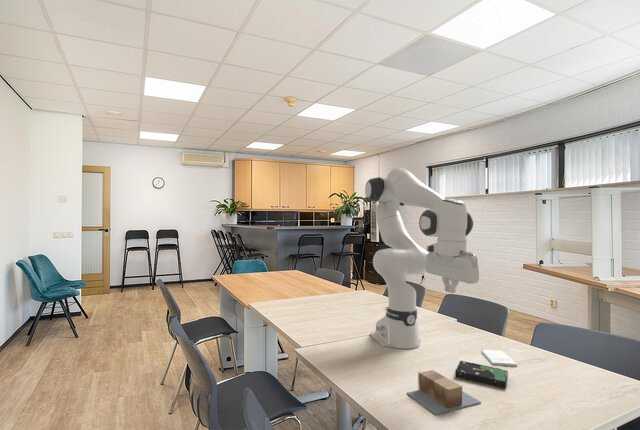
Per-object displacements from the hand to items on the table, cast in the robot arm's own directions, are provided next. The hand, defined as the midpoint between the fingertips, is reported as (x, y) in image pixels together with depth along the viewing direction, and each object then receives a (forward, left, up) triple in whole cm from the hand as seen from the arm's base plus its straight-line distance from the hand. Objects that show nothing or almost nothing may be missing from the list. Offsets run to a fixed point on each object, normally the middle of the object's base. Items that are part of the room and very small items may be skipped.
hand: (449, 292), depth 115 cm
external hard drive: (-6, +29, -28) cm, 41 cm away
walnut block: (+3, -12, -25) cm, 28 cm away
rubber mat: (+10, -11, -28) cm, 31 cm away
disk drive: (+3, +11, -28) cm, 31 cm away
